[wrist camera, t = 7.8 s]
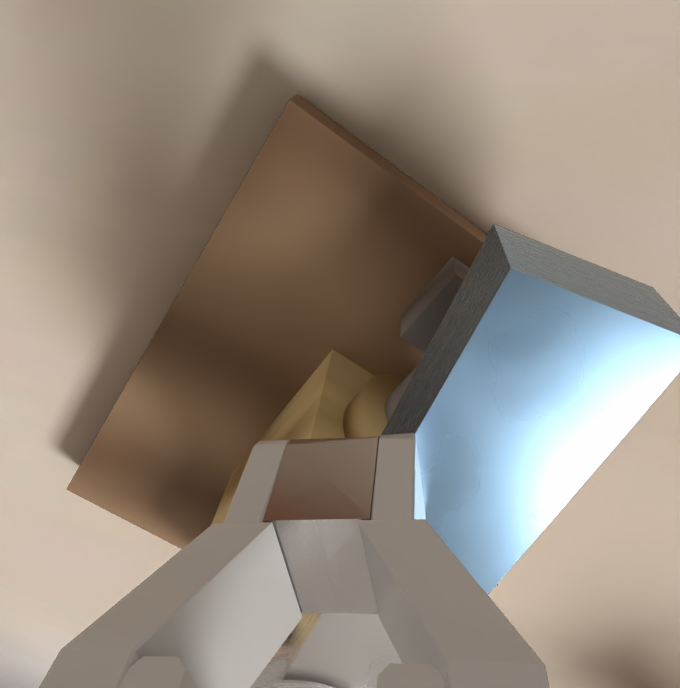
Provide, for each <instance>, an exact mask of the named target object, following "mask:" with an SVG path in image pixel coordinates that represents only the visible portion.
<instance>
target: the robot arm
mask: <svg viewBox="0 0 680 688" xmlns="http://www.w3.org/2000/svg"><path fill="white" fill-rule="evenodd" d="M305 613H354V614H378V616H379V619H380V621H381V623H382V625H383V627H384V629H385V631H386V632H387V634H388V636H389V638H390V640H391V642H392V644H393V646H394V648H395V650H396V652H397V654H398V656H399V658H400V659H401V661H402V663H403V664H396V663H390V664H389V665H388V666H387V667H386V668H385V669H384V670H383V671H382V672H381V673H380V674H379V675H378V679H377V688H550V687H549V682H548V677H547V672H546V667H545V664H544V663H543V662H542V661H541V659H540V658H539V657H538V656H537V654H536V653H535V652H534V651H533V650H532V648H531V647H530V646H529V645H528V644H527V642H526V641H525V640H524V639H523V637H522V636H521V635H520V634H519V633H518V631H517V630H516V629H515V628H514V626H513V625H512V624H511V623H510V622H509V620H508V619H507V618H506V617H505V616H504V614H503V613H502V612H501V611H500V609H499V608H498V607H497V606H496V605H495V603H494V602H493V601H492V600H491V598H490V597H489V596H488V595H487V594H486V592H485V591H484V590H483V589H482V587H481V586H480V585H479V584H478V583H477V581H476V580H475V579H474V578H473V577H472V575H471V574H470V573H469V572H468V570H467V569H466V568H465V567H464V566H463V564H462V563H461V562H460V561H459V559H458V558H457V557H456V556H455V555H454V553H453V552H452V551H451V550H450V549H449V547H448V546H447V545H446V544H445V542H444V541H443V540H442V539H441V538H440V536H439V535H438V534H437V533H436V531H435V530H434V529H433V528H432V527H431V525H430V524H429V523H428V522H427V520H426V518H425V506H424V497H423V489H422V481H421V472H420V464H419V456H418V448H417V440H416V436H415V434H414V433H407V434H393V435H381V436H377V437H359V438H326V439H291V440H271V441H259V442H258V443H257V444H255V445H254V447H253V448H252V451H251V453H250V456H249V458H248V461H247V463H246V466H245V469H244V471H243V474H242V476H241V479H240V481H239V484H238V486H237V489H236V491H235V494H234V496H233V499H232V502H231V504H230V507H229V509H228V512H227V514H226V517H225V519H224V522H223V523H215V524H212V525H211V526H210V527H208V528H207V529H206V530H205V531H204V532H202V533H201V534H200V535H199V536H197V537H196V538H195V539H194V540H193V541H191V542H190V543H189V544H188V545H187V546H185V547H184V548H183V549H182V550H181V551H179V552H178V553H177V554H176V555H175V556H173V557H172V558H171V559H170V560H169V561H167V562H166V563H165V564H164V565H162V566H161V567H160V568H159V569H158V570H156V571H155V572H154V573H153V574H152V575H150V576H149V577H148V578H147V579H146V580H144V581H143V582H142V583H141V584H140V585H138V586H137V587H136V588H135V589H133V590H132V591H131V592H130V593H129V594H127V595H126V596H125V597H124V598H123V599H121V600H120V601H119V602H118V603H117V604H115V605H114V606H113V607H112V608H111V609H109V610H108V611H107V612H106V613H105V614H103V615H102V616H101V617H100V618H98V619H97V620H96V621H95V622H94V623H92V624H91V625H90V626H89V627H88V628H86V629H85V630H84V631H83V632H82V633H80V634H79V635H78V636H77V637H76V638H74V639H73V640H72V641H71V642H69V643H68V644H67V645H66V646H65V647H63V648H62V649H61V650H60V652H59V654H58V656H57V657H56V659H55V661H54V662H53V664H52V666H51V668H50V669H49V671H48V673H47V675H46V676H45V678H44V680H43V682H42V683H41V685H40V687H39V688H250V687H251V686H252V684H253V683H254V682H255V680H256V679H257V678H258V676H259V675H260V674H261V672H262V671H263V670H264V668H265V667H266V666H267V664H268V663H269V662H270V660H271V659H272V658H273V656H274V655H275V653H276V652H277V651H278V649H279V648H280V647H281V645H282V644H283V643H284V641H285V640H286V639H287V637H288V636H289V635H290V633H291V632H292V631H293V629H294V628H295V627H296V625H297V624H298V623H299V621H300V620H301V618H302V615H301V614H305Z"/></svg>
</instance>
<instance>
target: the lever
mask: <svg viewBox="0 0 680 688" xmlns="http://www.w3.org/2000/svg"><path fill="white" fill-rule="evenodd" d="M679 372H680V317H679V316H678V315H677V314H676V313H675V312H674V311H673V309H672V308H671V307H670V306H669V305H668V304H667V303H666V302H665V300H664V299H663V298H662V297H661V296H660V295H659V294H658V293H657V291H656V290H655V289H654V288H653V287H651V286H648V285H646V284H643V283H641V282H638V281H636V280H633V279H631V278H628V277H626V276H623V275H621V274H618V273H616V272H613V271H611V270H608V269H606V268H603V267H601V266H598V265H596V264H593V263H591V262H588V261H586V260H583V259H581V258H578V257H576V256H573V255H571V254H568V253H566V252H563V251H561V250H558V249H556V248H553V247H551V246H548V245H546V244H543V243H541V242H538V241H536V240H533V239H531V238H528V237H526V236H523V235H521V234H518V233H516V232H513V231H511V230H508V229H506V228H503V227H501V226H498V225H496V224H493V226H492V228H491V230H490V232H489V233H488V235H487V237H486V239H485V241H484V243H483V245H482V247H481V248H480V250H479V252H478V254H477V256H476V258H475V260H474V262H473V263H472V265H471V267H470V269H469V271H468V273H467V275H466V277H465V278H464V280H463V282H462V284H461V286H460V288H459V290H458V292H457V293H456V295H455V297H454V299H453V301H452V303H451V305H450V307H449V308H448V310H447V312H446V314H445V316H444V318H443V320H442V322H441V323H440V325H439V327H438V329H437V331H436V333H435V335H434V336H433V338H432V340H431V342H430V344H429V346H428V348H427V350H426V351H425V353H424V355H423V357H422V359H421V361H420V363H419V365H418V366H417V368H416V370H415V372H414V374H413V376H412V378H411V380H410V381H409V383H408V385H407V387H406V389H405V391H404V393H403V395H402V396H401V398H400V400H399V402H398V404H397V406H396V408H395V410H394V411H393V413H392V415H391V417H390V419H389V421H388V423H387V425H386V426H385V428H384V430H383V432H382V434H381V435H393V434H407V433H414V434H415V436H416V440H417V448H418V456H419V464H420V472H421V481H422V489H423V497H424V506H425V518H426V520H427V522H428V523H429V524H430V525H431V527H432V528H433V529H434V530H435V531H436V533H437V534H438V535H439V536H440V538H441V539H442V540H443V541H444V542H445V544H446V545H447V546H448V547H449V549H450V550H451V551H452V552H453V553H454V555H455V556H456V557H457V558H458V559H459V561H460V562H461V563H462V564H463V566H464V567H465V568H466V569H467V570H468V572H469V573H470V574H471V575H472V577H473V578H474V579H475V580H476V581H477V583H478V584H479V585H480V586H481V587H482V589H483V590H484V591H485V592H486V594H487V595H488V594H489V593H490V592H491V591H492V589H493V588H494V587H495V586H496V585H497V584H498V582H499V581H500V580H501V579H502V578H503V577H504V575H505V574H506V573H507V572H508V571H509V570H510V568H511V567H512V566H513V565H514V564H515V563H516V561H517V560H518V559H519V558H520V557H521V556H522V554H523V553H524V552H525V551H526V550H527V549H528V547H529V546H530V545H531V544H532V543H533V542H534V541H535V539H536V538H537V537H538V536H539V535H540V534H541V532H542V531H543V530H544V529H545V528H546V527H547V525H548V524H549V523H550V522H551V521H552V520H553V518H554V517H555V516H556V515H557V514H558V513H559V511H560V510H561V509H562V508H563V507H564V506H565V504H566V503H567V502H568V501H569V500H570V499H571V497H572V496H573V495H574V494H575V493H576V492H577V491H578V489H579V488H580V487H581V486H582V485H583V484H584V482H585V481H586V480H587V479H588V478H589V477H590V475H591V474H592V473H593V472H594V471H595V470H596V468H597V467H598V466H599V465H600V464H601V463H602V461H603V460H604V459H605V458H606V457H607V456H608V454H609V453H610V452H611V451H612V450H613V449H614V447H615V446H616V445H617V444H618V443H619V442H620V441H621V439H622V438H623V437H624V436H625V435H626V434H627V432H628V431H629V430H630V429H631V428H632V427H633V425H634V424H635V423H636V422H637V421H638V420H639V418H640V417H641V416H642V415H643V414H644V413H645V411H646V410H647V409H648V408H649V407H650V406H651V404H652V403H653V402H654V401H655V400H656V399H657V398H658V396H659V395H660V394H661V393H662V392H663V391H664V389H665V388H666V387H667V386H668V385H669V384H670V382H671V381H672V380H673V379H674V378H675V377H676V375H677V374H678V373H679ZM301 615H302V618H301V620H300V621H299V623H298V624H297V625H296V627H295V628H294V629H293V631H292V632H291V633H290V635H289V636H288V637H287V639H286V640H285V641H284V643H283V644H282V645H281V647H280V648H279V649H278V651H277V652H276V653H275V655H274V656H273V658H272V659H271V660H270V662H269V663H268V664H267V666H266V667H265V668H264V670H263V671H262V672H261V674H260V675H259V676H258V678H257V679H256V680H255V682H254V683H253V684H252V686H251V687H250V688H377V679H378V675H379V674H380V673H381V672H382V671H383V670H384V669H385V668H386V667H387V666H388V665H389V664H390V663H396V664H403V663H402V661H401V659H400V658H399V656H398V654H397V652H396V650H395V648H394V646H393V644H392V642H391V640H390V638H389V636H388V634H387V632H386V631H385V629H384V627H383V625H382V623H381V621H380V619H379V616H378V614H354V613H305V614H301Z"/></svg>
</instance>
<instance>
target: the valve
mask: <svg viewBox="0 0 680 688" xmlns="http://www.w3.org/2000/svg"><path fill="white" fill-rule="evenodd" d="M486 237H487V235H486V234H485V233H484V232H482V231H481V230H480V229H478V228H477V227H476V226H474V225H473V224H472V223H470V222H469V221H468V220H466V219H465V218H464V217H462V216H461V215H460V214H458V213H457V212H456V211H454V210H453V209H452V208H450V207H449V206H448V205H446V204H445V203H443V202H442V201H441V200H439V199H438V198H437V197H435V196H434V195H433V194H431V193H430V192H429V191H427V190H426V189H425V188H423V187H422V186H421V185H419V184H418V183H417V182H415V181H414V180H413V179H411V178H410V177H409V176H407V175H406V174H405V173H403V172H402V171H400V170H399V169H398V168H396V167H395V166H394V165H392V164H391V163H390V162H388V161H387V160H386V159H384V158H383V157H382V156H380V155H379V154H378V153H376V152H375V151H374V150H372V149H371V148H370V147H368V146H367V145H366V144H364V143H363V142H361V141H360V140H359V139H357V138H356V137H355V136H353V135H352V134H351V133H349V132H348V131H347V130H345V129H344V128H343V127H341V126H340V125H339V124H337V123H336V122H335V121H333V120H332V119H331V118H329V117H328V116H327V115H325V114H324V113H323V112H321V111H320V110H318V109H317V108H316V107H314V106H313V105H312V104H310V103H309V102H308V101H306V100H305V99H304V98H302V97H301V96H300V95H296V96H295V97H293V98H292V99H290V100H289V102H288V104H287V105H286V107H285V109H284V111H283V112H282V114H281V116H280V118H279V119H278V121H277V123H276V124H275V126H274V128H273V130H272V131H271V133H270V135H269V137H268V138H267V140H266V142H265V144H264V145H263V147H262V149H261V151H260V152H259V154H258V156H257V158H256V159H255V161H254V163H253V165H252V166H251V168H250V170H249V172H248V173H247V175H246V177H245V179H244V180H243V182H242V184H241V186H240V187H239V189H238V191H237V192H236V194H235V196H234V198H233V199H232V201H231V203H230V205H229V206H228V208H227V210H226V212H225V213H224V215H223V217H222V219H221V220H220V222H219V224H218V226H217V227H216V229H215V231H214V233H213V234H212V236H211V238H210V240H209V241H208V243H207V245H206V247H205V248H204V250H203V252H202V254H201V255H200V257H199V259H198V261H197V262H196V264H195V266H194V267H193V269H192V271H191V273H190V274H189V276H188V278H187V280H186V281H185V283H184V285H183V287H182V288H181V290H180V292H179V294H178V295H177V297H176V299H175V301H174V302H173V304H172V306H171V308H170V309H169V311H168V313H167V315H166V316H165V318H164V320H163V322H162V323H161V325H160V327H159V329H158V330H157V332H156V334H155V335H154V337H153V339H152V341H151V342H150V344H149V346H148V348H147V349H146V351H145V353H144V355H143V356H142V358H141V360H140V362H139V363H138V365H137V367H136V369H135V370H134V372H133V374H132V376H131V377H130V379H129V381H128V383H127V384H126V386H125V388H124V390H123V391H122V393H121V395H120V397H119V398H118V400H117V402H116V403H115V405H114V407H113V409H112V410H111V412H110V414H109V416H108V417H107V419H106V421H105V423H104V424H103V426H102V428H101V430H100V431H99V433H98V435H97V437H96V438H95V440H94V442H93V444H92V445H91V447H90V449H89V451H88V452H87V454H86V456H85V458H84V459H83V461H82V463H81V465H80V466H79V468H78V470H77V471H76V473H75V475H74V477H73V478H72V480H71V482H70V484H69V485H68V487H67V490H69V491H70V492H72V493H74V494H76V495H78V496H80V497H82V498H84V499H86V500H88V501H90V502H92V503H94V504H96V505H98V506H100V507H101V508H103V509H105V510H107V511H109V512H111V513H113V514H115V515H117V516H119V517H121V518H123V519H125V520H127V521H129V522H130V523H132V524H134V525H136V526H138V527H140V528H142V529H144V530H146V531H148V532H150V533H152V534H154V535H156V536H158V537H160V538H161V539H163V540H165V541H167V542H169V543H171V544H173V545H175V546H177V547H179V548H181V549H183V548H184V547H185V546H187V545H188V544H189V543H190V542H191V541H193V540H194V539H195V538H196V537H197V536H199V535H200V534H201V533H202V532H204V531H205V530H206V529H207V528H208V527H210V526H211V525H212V524H215V523H223V522H224V519H225V517H226V514H227V512H228V509H229V507H230V504H231V502H232V499H233V496H234V494H235V491H236V489H237V486H238V484H239V481H240V479H241V476H242V474H243V471H244V469H245V466H246V463H247V461H248V458H249V456H250V453H251V451H252V448H253V447H254V445H255V444H257V443H258V442H259V441H271V440H291V439H326V438H359V437H377V436H381V434H382V432H383V430H384V428H385V426H386V425H387V423H388V421H389V419H390V417H391V415H392V413H393V411H394V410H395V408H396V406H397V404H398V402H399V400H400V398H401V396H402V395H403V393H404V391H405V389H406V387H407V385H408V383H409V381H410V380H411V378H412V376H413V374H414V372H415V370H416V368H417V366H418V365H419V363H420V361H421V359H422V357H423V355H424V353H425V351H426V350H427V348H428V346H429V344H430V342H431V340H432V338H433V336H434V335H435V333H436V331H437V329H438V327H439V325H440V323H441V322H442V320H443V318H444V316H445V314H446V312H447V310H448V308H449V307H450V305H451V303H452V301H453V299H454V297H455V295H456V293H457V292H458V290H459V288H460V286H461V284H462V282H463V280H464V278H465V277H466V275H467V273H468V271H469V269H470V267H471V265H472V263H473V262H474V260H475V258H476V256H477V254H478V252H479V250H480V248H481V247H482V245H483V243H484V241H485V239H486ZM497 585H498V584H497ZM497 585H496V586H497ZM496 586H495V587H496Z"/></svg>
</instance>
